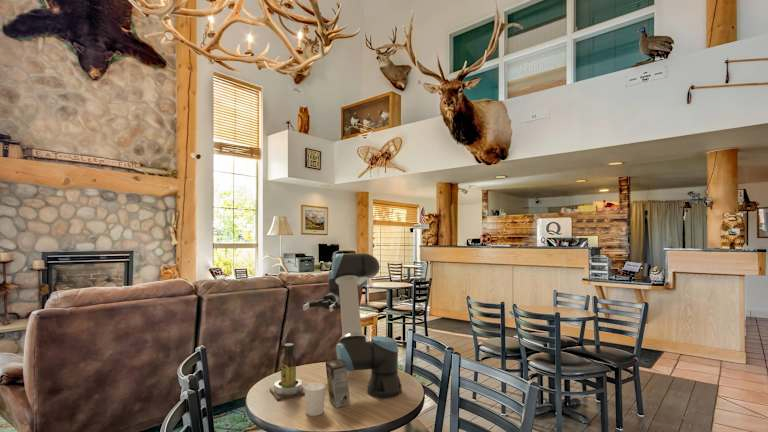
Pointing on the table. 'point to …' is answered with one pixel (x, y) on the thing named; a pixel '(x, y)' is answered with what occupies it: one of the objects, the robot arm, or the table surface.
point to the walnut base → (282, 397)
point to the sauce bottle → (288, 367)
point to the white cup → (314, 398)
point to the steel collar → (288, 388)
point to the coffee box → (337, 383)
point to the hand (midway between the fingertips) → (317, 308)
